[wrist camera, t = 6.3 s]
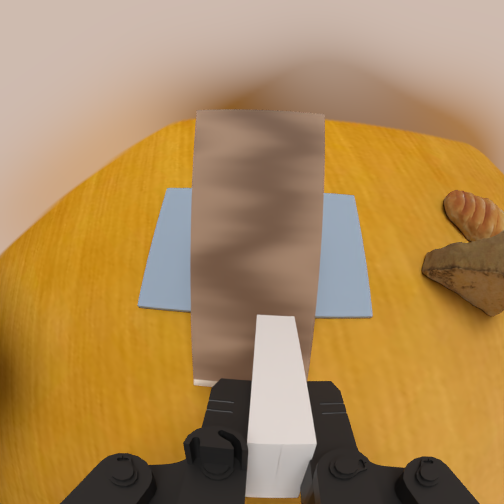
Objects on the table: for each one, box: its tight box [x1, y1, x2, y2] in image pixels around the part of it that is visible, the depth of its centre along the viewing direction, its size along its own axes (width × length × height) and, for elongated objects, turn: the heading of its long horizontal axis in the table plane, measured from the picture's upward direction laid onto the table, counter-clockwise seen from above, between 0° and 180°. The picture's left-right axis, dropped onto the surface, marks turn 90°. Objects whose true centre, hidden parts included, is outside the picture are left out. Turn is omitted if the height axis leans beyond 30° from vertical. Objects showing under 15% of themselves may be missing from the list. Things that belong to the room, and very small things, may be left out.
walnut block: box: [190, 110, 325, 387], centre depth 17 cm, size 6×6×14 cm
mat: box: [138, 188, 373, 318], centre depth 24 cm, size 18×12×1 cm, turn 87°
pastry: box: [444, 190, 504, 242], centre depth 25 cm, size 9×7×4 cm
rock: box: [422, 230, 504, 316], centre depth 20 cm, size 11×9×10 cm
